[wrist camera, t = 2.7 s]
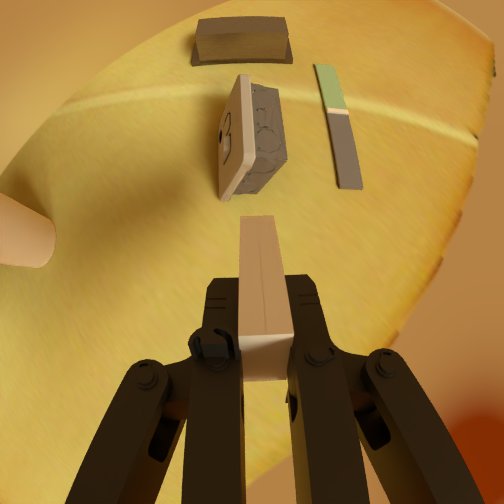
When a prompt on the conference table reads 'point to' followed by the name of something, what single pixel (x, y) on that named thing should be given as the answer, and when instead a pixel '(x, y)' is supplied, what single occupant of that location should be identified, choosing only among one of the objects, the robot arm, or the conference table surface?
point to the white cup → (24, 235)
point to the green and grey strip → (339, 129)
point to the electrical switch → (249, 139)
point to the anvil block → (242, 41)
